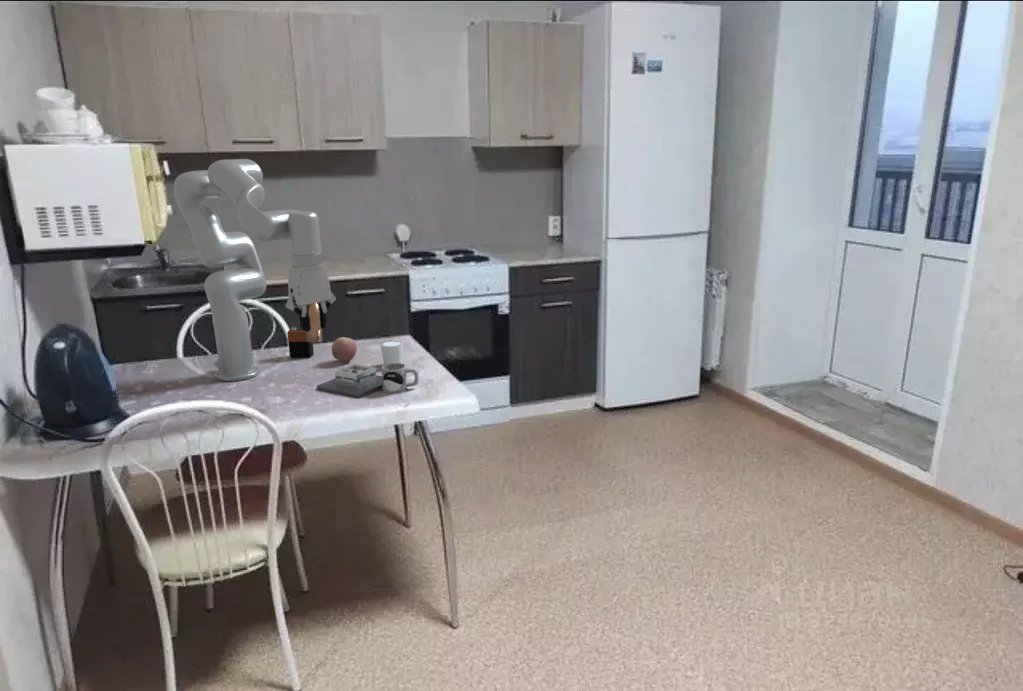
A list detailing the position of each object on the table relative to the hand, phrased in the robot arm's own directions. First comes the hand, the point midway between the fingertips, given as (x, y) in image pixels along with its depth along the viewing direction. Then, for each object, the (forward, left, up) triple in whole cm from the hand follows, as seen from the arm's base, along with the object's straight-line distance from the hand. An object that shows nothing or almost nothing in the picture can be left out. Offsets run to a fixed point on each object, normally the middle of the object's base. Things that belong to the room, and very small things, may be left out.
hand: (313, 328), depth 188 cm
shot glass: (0, +32, -19) cm, 37 cm away
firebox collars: (+3, +12, -19) cm, 23 cm away
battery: (-33, +26, -19) cm, 46 cm away
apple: (-16, +28, -19) cm, 38 cm away
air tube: (0, 0, -3) cm, 3 cm away
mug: (+16, +15, -20) cm, 29 cm away
